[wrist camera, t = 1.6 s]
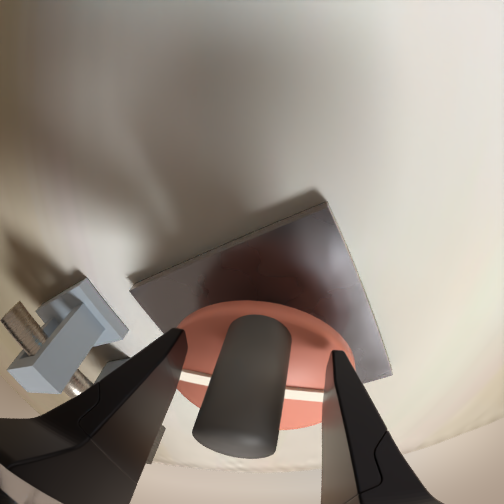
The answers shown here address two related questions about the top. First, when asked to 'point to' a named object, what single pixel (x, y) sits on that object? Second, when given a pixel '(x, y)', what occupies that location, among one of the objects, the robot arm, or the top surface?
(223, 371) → the handwheel
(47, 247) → the top surface
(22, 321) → the hook rod
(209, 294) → the wheel mount
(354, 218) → the top surface
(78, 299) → the eye bracket
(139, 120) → the top surface
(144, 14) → the top surface
